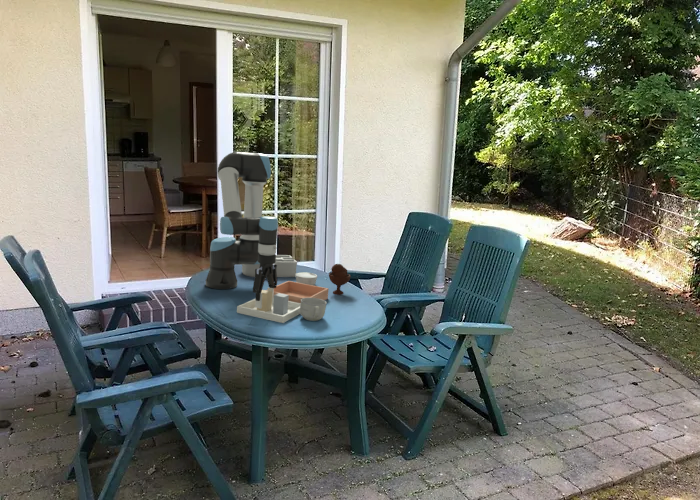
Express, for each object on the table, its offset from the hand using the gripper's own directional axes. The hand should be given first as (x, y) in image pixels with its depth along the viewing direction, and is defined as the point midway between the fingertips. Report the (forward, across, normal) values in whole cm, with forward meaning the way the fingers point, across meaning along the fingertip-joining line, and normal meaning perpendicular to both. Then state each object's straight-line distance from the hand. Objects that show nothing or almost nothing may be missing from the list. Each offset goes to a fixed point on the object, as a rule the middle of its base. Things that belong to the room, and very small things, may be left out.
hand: (264, 304), depth 231 cm
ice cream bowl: (+3, +45, -15) cm, 48 cm away
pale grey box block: (+2, 0, -8) cm, 8 cm away
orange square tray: (+2, +22, -4) cm, 23 cm away
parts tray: (+2, 0, -4) cm, 5 cm away
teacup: (+3, +1, -23) cm, 23 cm away
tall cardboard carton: (+2, 0, 0) cm, 2 cm away
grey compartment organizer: (+3, +56, +32) cm, 65 cm away
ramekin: (+3, +49, +5) cm, 49 cm away
